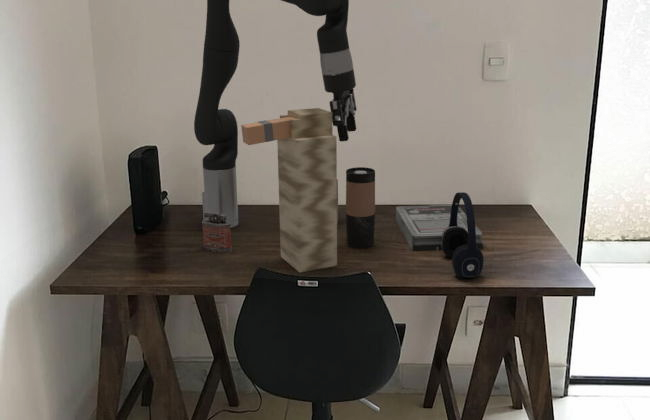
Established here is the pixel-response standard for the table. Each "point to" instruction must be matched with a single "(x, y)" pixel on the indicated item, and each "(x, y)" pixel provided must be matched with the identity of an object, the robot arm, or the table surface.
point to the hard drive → (429, 225)
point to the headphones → (462, 241)
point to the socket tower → (308, 191)
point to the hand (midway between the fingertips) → (348, 135)
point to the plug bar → (267, 130)
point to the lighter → (216, 232)
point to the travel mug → (360, 207)
